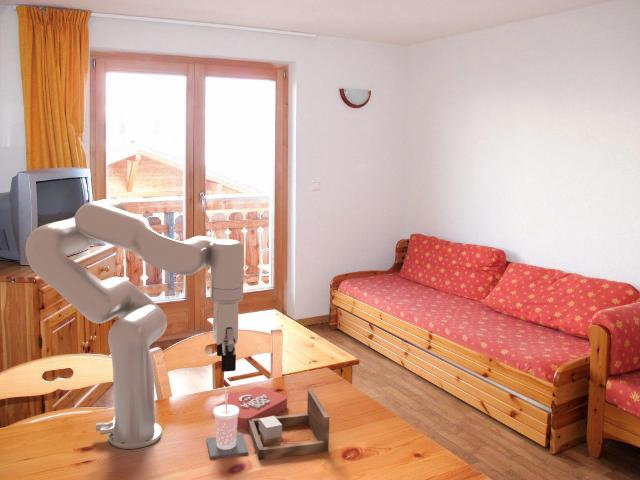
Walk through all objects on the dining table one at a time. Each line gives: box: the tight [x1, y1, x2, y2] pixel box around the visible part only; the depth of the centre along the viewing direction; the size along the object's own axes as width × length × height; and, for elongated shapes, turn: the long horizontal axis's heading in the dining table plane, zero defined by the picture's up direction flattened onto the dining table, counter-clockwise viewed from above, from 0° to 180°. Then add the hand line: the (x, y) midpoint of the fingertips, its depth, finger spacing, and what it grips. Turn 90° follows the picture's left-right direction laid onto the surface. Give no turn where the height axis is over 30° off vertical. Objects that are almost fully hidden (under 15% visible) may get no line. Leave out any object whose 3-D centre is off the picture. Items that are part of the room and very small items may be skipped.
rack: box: [247, 389, 330, 461], centre depth 151 cm, size 17×16×9 cm
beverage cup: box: [213, 389, 239, 450], centre depth 146 cm, size 6×6×14 cm
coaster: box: [206, 433, 249, 460], centre depth 148 cm, size 9×9×1 cm
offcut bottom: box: [259, 433, 281, 447], centre depth 150 cm, size 4×6×3 cm, turn 14°
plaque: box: [215, 386, 288, 429], centre depth 168 cm, size 18×4×15 cm
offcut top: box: [258, 415, 283, 439], centre depth 149 cm, size 4×5×3 cm
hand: (225, 362), depth 144 cm, fingers open, 9 cm apart
